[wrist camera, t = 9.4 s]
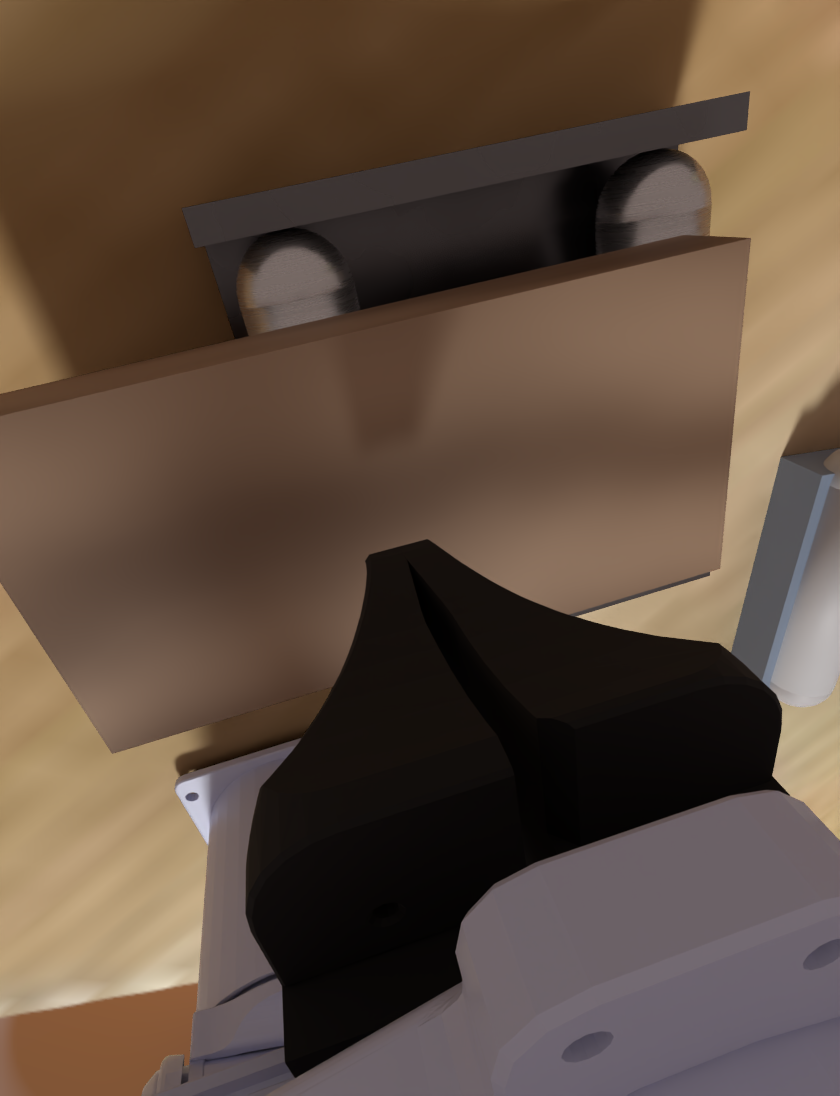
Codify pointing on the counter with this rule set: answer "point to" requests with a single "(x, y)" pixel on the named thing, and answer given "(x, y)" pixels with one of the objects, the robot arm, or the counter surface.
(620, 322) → the slab
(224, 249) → the roller bed
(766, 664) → the roller
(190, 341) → the counter surface
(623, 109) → the counter surface
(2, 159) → the counter surface
